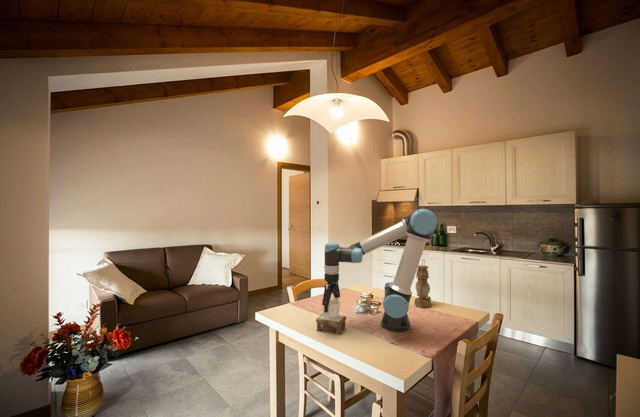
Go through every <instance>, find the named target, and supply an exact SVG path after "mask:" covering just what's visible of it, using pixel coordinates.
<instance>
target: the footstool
mask: <svg viewBox="0 0 640 417" xmlns="http://www.w3.org/2000/svg"><path fill="white" fill-rule="evenodd" d="M323 314H324V312H322V314H320V315H319V316H318V317H317V318H316V319H315V323H316V331H317V332H321V331H322V326H325V327H327V326H328V327H333V328H336V335H341V330H345V329H346V320H347V316H345V315H343V316H344V317H343V318H342V319H341V320H340V322H335V321H329V320H322V319H319V318H320V317H321V316H322V315H323ZM338 315H339V316H341V315H340V314H338Z"/></svg>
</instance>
